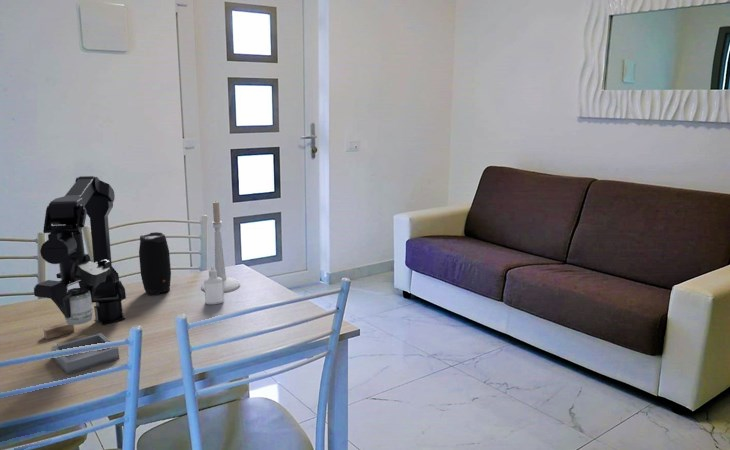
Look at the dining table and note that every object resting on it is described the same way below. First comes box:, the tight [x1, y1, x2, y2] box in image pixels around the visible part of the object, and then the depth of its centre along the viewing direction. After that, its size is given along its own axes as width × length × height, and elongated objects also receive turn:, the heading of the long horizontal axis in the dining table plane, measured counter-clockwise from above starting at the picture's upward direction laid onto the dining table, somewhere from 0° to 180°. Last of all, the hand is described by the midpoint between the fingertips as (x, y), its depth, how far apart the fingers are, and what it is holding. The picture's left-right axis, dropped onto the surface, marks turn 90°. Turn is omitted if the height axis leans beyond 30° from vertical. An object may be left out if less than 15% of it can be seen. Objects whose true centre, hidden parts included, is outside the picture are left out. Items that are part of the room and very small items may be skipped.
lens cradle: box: [43, 321, 88, 345], centre depth 150 cm, size 7×14×2 cm, turn 44°
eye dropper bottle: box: [203, 265, 225, 305], centre depth 176 cm, size 4×6×12 cm
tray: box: [51, 332, 120, 376], centre depth 140 cm, size 12×12×3 cm
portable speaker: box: [138, 231, 172, 296], centre depth 185 cm, size 9×9×20 cm
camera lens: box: [64, 287, 94, 326], centre depth 137 cm, size 6×6×8 cm
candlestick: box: [201, 200, 241, 294], centre depth 188 cm, size 13×13×30 cm
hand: (78, 312), depth 138 cm, fingers closed on camera lens, 6 cm apart
